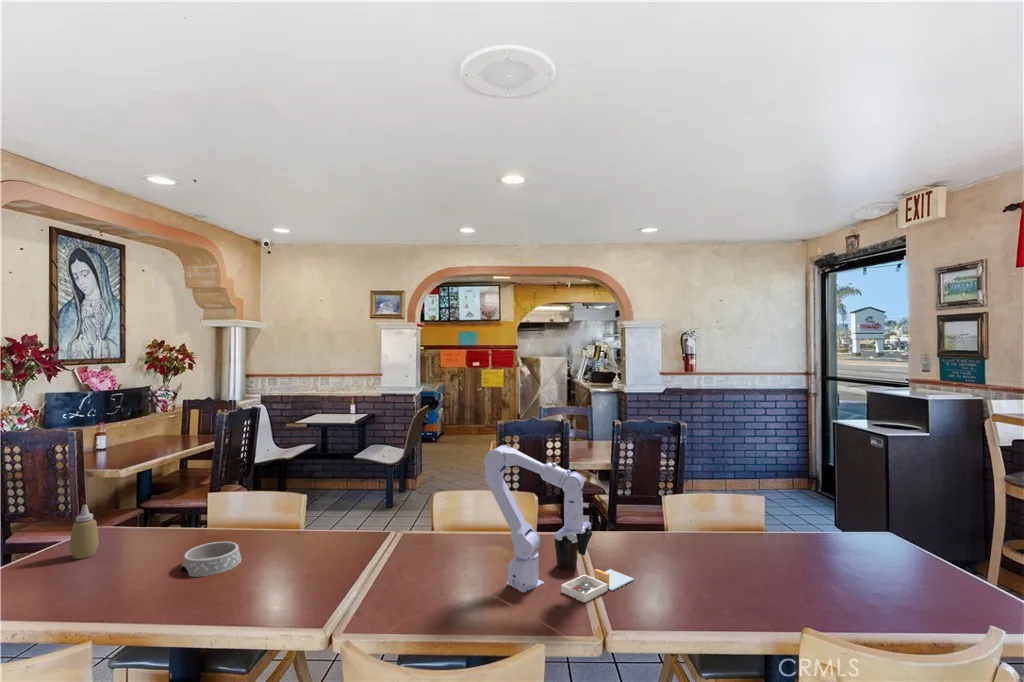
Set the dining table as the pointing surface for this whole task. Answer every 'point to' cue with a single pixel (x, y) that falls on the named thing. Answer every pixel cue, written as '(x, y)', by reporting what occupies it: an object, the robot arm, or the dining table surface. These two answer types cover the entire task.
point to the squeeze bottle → (84, 535)
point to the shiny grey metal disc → (583, 591)
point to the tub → (591, 593)
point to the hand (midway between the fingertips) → (573, 557)
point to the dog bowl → (211, 558)
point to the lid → (612, 578)
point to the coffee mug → (572, 557)
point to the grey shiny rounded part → (586, 585)
